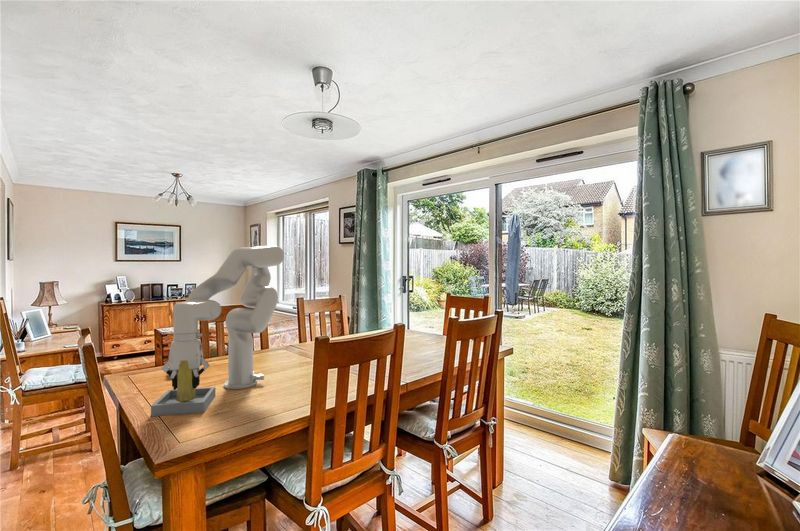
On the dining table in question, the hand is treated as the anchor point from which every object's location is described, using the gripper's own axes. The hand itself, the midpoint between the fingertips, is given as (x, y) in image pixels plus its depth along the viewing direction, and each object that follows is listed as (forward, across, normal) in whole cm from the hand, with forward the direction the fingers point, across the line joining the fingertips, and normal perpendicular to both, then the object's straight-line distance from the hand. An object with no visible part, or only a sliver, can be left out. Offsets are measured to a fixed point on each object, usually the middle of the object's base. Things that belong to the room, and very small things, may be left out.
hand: (186, 387), depth 136 cm
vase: (+4, 0, 0) cm, 4 cm away
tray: (+6, 0, 0) cm, 6 cm away
